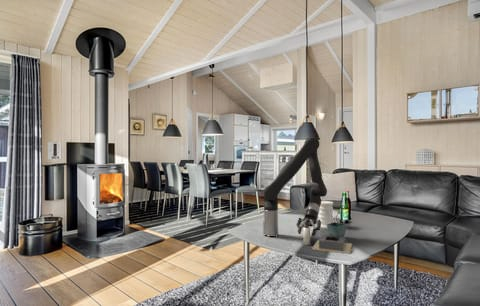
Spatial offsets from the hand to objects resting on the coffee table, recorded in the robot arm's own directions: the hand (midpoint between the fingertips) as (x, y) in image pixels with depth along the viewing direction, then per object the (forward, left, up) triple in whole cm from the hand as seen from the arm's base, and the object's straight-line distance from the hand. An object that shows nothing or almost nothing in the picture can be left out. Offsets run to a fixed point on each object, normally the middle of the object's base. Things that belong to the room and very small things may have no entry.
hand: (305, 234), depth 179 cm
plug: (0, +1, -6) cm, 6 cm away
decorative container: (+4, +49, -6) cm, 50 cm away
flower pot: (+15, +20, -6) cm, 26 cm away
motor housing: (+15, 0, -6) cm, 16 cm away
